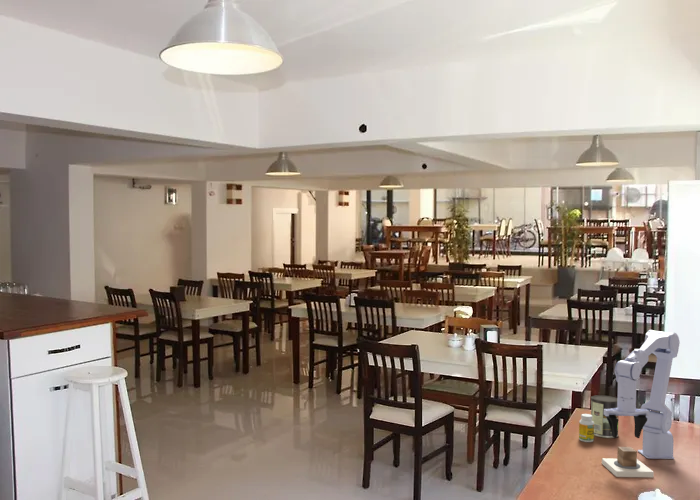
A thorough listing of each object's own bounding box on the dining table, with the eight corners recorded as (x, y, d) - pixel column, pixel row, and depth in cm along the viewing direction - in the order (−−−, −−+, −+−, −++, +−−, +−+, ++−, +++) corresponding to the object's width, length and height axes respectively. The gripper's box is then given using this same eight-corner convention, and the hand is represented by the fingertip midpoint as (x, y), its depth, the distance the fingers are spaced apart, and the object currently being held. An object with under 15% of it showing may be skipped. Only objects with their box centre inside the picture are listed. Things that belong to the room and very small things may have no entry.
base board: (636, 464, 222) (636, 458, 222) (653, 477, 210) (653, 471, 210) (601, 463, 221) (601, 457, 221) (616, 476, 209) (616, 470, 209)
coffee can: (620, 433, 256) (621, 397, 256) (615, 439, 247) (616, 403, 247) (593, 428, 262) (594, 393, 261) (587, 435, 253) (588, 399, 253)
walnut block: (630, 461, 218) (631, 446, 218) (636, 466, 214) (636, 451, 213) (617, 461, 218) (617, 446, 218) (622, 466, 214) (623, 451, 213)
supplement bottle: (584, 437, 250) (585, 412, 250) (596, 441, 246) (597, 415, 245) (575, 439, 247) (576, 414, 247) (587, 443, 243) (588, 417, 242)
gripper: (610, 399, 213) (609, 440, 214) (654, 400, 213) (652, 441, 214) (601, 394, 220) (600, 434, 221) (644, 394, 220) (642, 434, 221)
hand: (625, 437), depth 218 cm, fingers open, 7 cm apart
